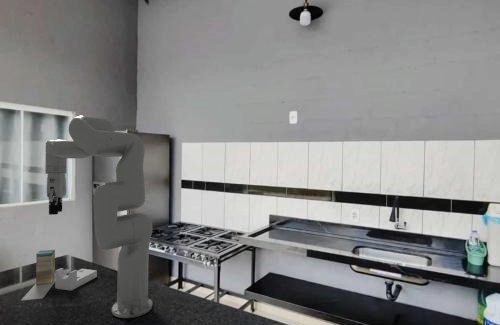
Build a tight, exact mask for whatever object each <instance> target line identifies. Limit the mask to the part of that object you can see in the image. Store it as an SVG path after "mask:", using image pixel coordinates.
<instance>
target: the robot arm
mask: <svg viewBox="0 0 500 325" xmlns="http://www.w3.org/2000/svg"><path fill="white" fill-rule="evenodd" d="M68 134H69V137H70V138H71V140H70V139H55V140H51V139H50V140H47V141H46V142H45V165H44V166H45V171H44V172H45V173H44V174H47V178H46V197H47V198H48V215H51V216H52V215H54V216H56V215H58V214H59V212H60V213H61V212H63V197H64V196H66V195H67V185H66V184H67V182H66V181H67V180H66V175H67V172H68V171H67V168H68V166H67V163H68V159H80V160H81V159H86V158H88V157H90V156H91V157H100V158H101V157H102V158H103V157H104V158H105V157H109V158H110V157H112V158H113V157H114V158H115V157H117V158H118V157H120V158H119V161H118V162H117V164H116V166H115V174H116V179H115V180H116V181H109V182H103V183H100V184H99V185H98V186H97V187H96V189H95V190H94V194H93V198H92V200H93V201H92V205H93V206H92V207H93V208H92V209H93V222H94V234H95V239H96V243H97V245H98V246H99V248H101V249H103V250H107V251H108V250H113V249H118V248H120V250H119V252H118V255H117V282H116V284H117V285H116V288H117V290H116V292H117V293H116V302H115V303H114V304H113V305H112V307H111V313H112V315H113V316H114V317H117V318H119V319H120V318H121V319H133V318H137V317H140V316H143V315H145V314H147V313H148V312H150V311H151V310H152V308H153V300H152V299H150V298H149V260H150V259H149V258H150V257H149V256H150V255H149V254H150V243H151V237H152V235H153V221H152V219H151V217H150V216H149V215H147V214H145V213H141V212H133V213H127V214H122V215H118V212H125V211H131V210H136V209H138V208H141V207H142V206H144V205H145V202H146V187H145V173H144V160H145V145H144V142H143V140H142V138H141V137H139V136H138V135H137V134H134V133H130V132H122V131H116V128H115V126H114V124H113V122H111V121H110V120H108V119H105V118H102V117H93V116H85V115H79V116H75V117H73V118H72V119H71V121H70V122H69V124H68Z"/></svg>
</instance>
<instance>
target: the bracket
mask: <svg viewBox="0 0 500 325" xmlns="http://www.w3.org/2000/svg"><path fill="white" fill-rule="evenodd" d="M68 273H69V274H66V273H65V271H64V267H63V268H62V267H60V268H58V269H55V283H54V289H57V290H65V291H74V290H75V289H76V288H79V287H81V286H83V285H85V284H87V283H89V282H90V281H92V280H94V279H95V278H97V277H98V270H96V269H87V268H81V269H78V270H77V269H73V270H71V271H69V272H68Z"/></svg>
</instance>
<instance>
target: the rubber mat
mask: <svg viewBox="0 0 500 325" xmlns="http://www.w3.org/2000/svg"><path fill="white" fill-rule="evenodd" d="M53 285H55V280H54V281H53V283H52V284H46V285H36V283H35V284H34V285H33V286H32V287H31V288H30V289H29V291H27V293H26V294H25V295H24V296H23V297H22V298H21V300H20V301H29V300H40V299H41V300H42V299H44V298H45V296H46V295H47V293H48V292H49V291H50V290H51V288H52V287H53Z"/></svg>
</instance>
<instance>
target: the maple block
mask: <svg viewBox="0 0 500 325" xmlns="http://www.w3.org/2000/svg"><path fill="white" fill-rule="evenodd" d="M35 255H36V256H35V260H36V261H35V262H36V263H35V271H36V272H35V275H36V276H35V284H36V285H46V284H52V283H53V281H54V280H55V270H56V269H55V268H56V267H55V266H56V263H55V262H56V258H55V257H56V250H55V249H45V250H38V252H37V253H36V254H35Z"/></svg>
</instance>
